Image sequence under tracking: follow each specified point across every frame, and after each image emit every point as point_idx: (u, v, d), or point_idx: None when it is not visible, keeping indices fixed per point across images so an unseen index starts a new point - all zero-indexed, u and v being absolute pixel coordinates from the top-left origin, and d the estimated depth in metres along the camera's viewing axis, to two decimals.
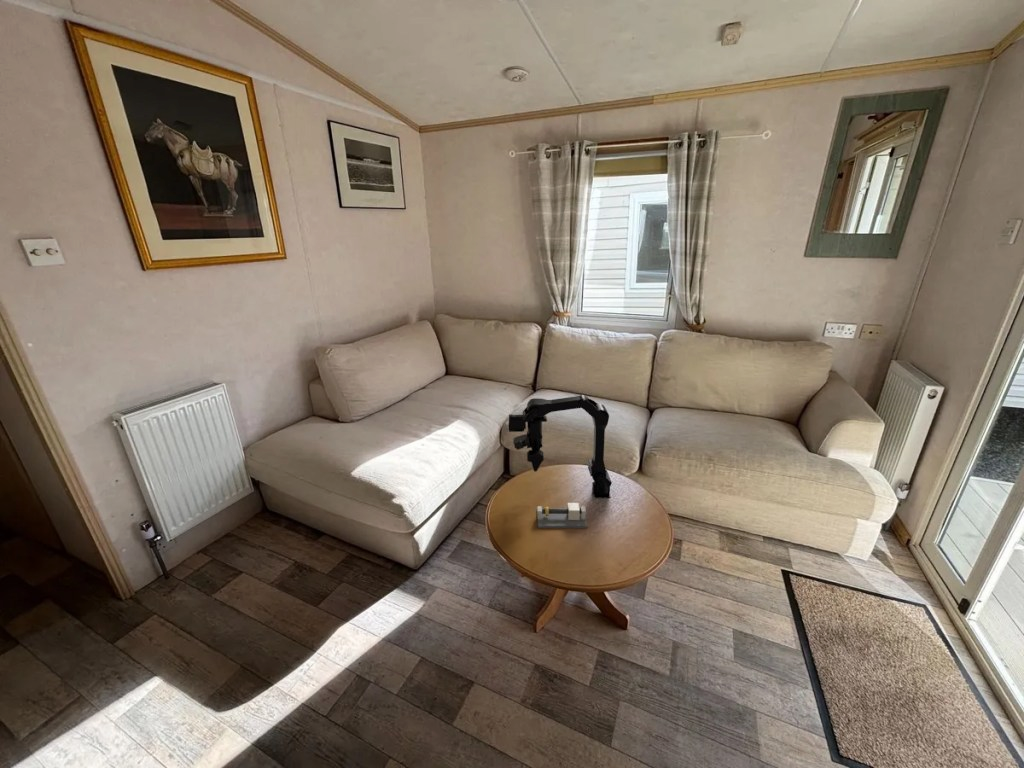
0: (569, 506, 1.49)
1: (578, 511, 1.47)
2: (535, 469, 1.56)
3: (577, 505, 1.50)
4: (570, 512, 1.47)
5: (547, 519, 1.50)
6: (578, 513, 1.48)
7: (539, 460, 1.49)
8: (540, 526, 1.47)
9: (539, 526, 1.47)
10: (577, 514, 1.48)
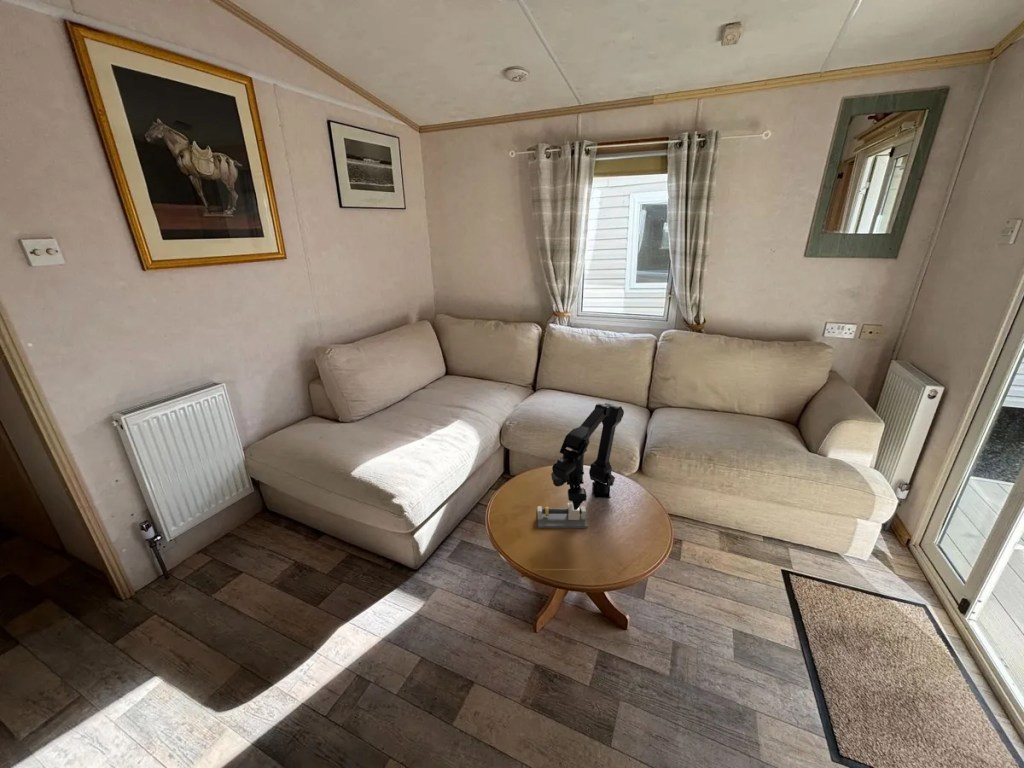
0: (569, 506, 1.49)
1: (578, 511, 1.47)
2: (575, 507, 1.43)
3: None
4: (570, 512, 1.47)
5: (547, 519, 1.50)
6: (578, 513, 1.48)
7: (582, 499, 1.37)
8: (540, 526, 1.47)
9: (539, 526, 1.47)
10: (577, 514, 1.48)
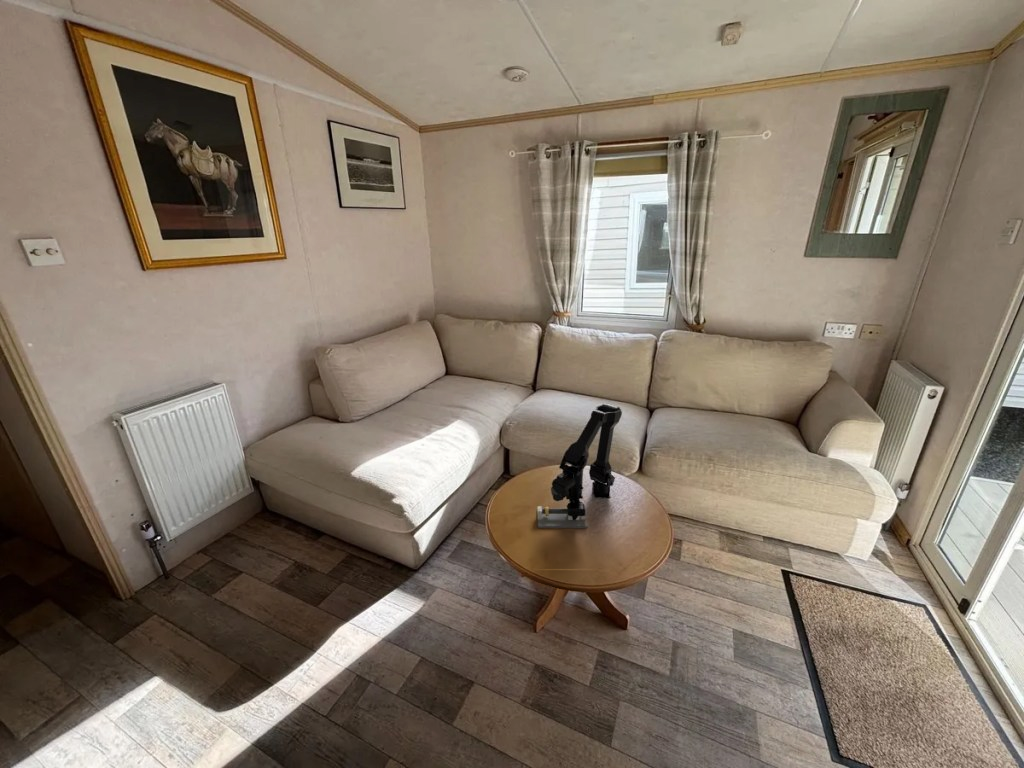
0: None
1: None
2: (574, 518, 1.47)
3: None
4: None
5: (547, 519, 1.50)
6: None
7: (581, 514, 1.39)
8: (540, 526, 1.47)
9: (539, 526, 1.47)
10: None
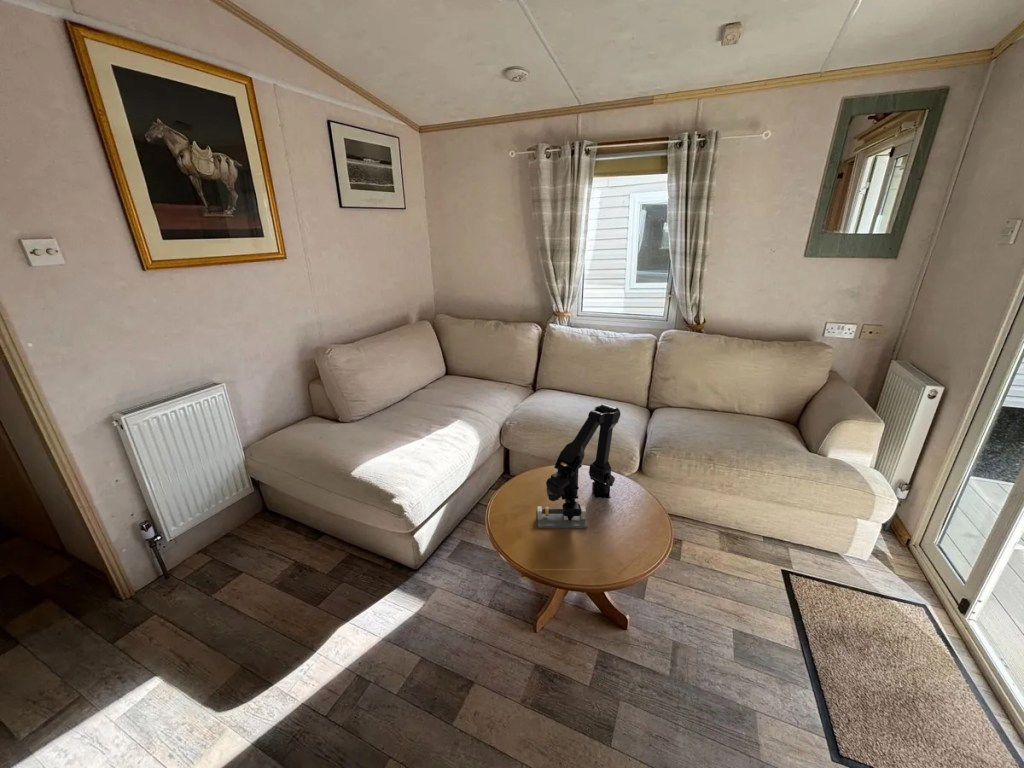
0: None
1: None
2: (570, 518, 1.48)
3: None
4: None
5: (547, 519, 1.50)
6: None
7: (576, 514, 1.39)
8: (540, 526, 1.47)
9: (539, 526, 1.47)
10: None
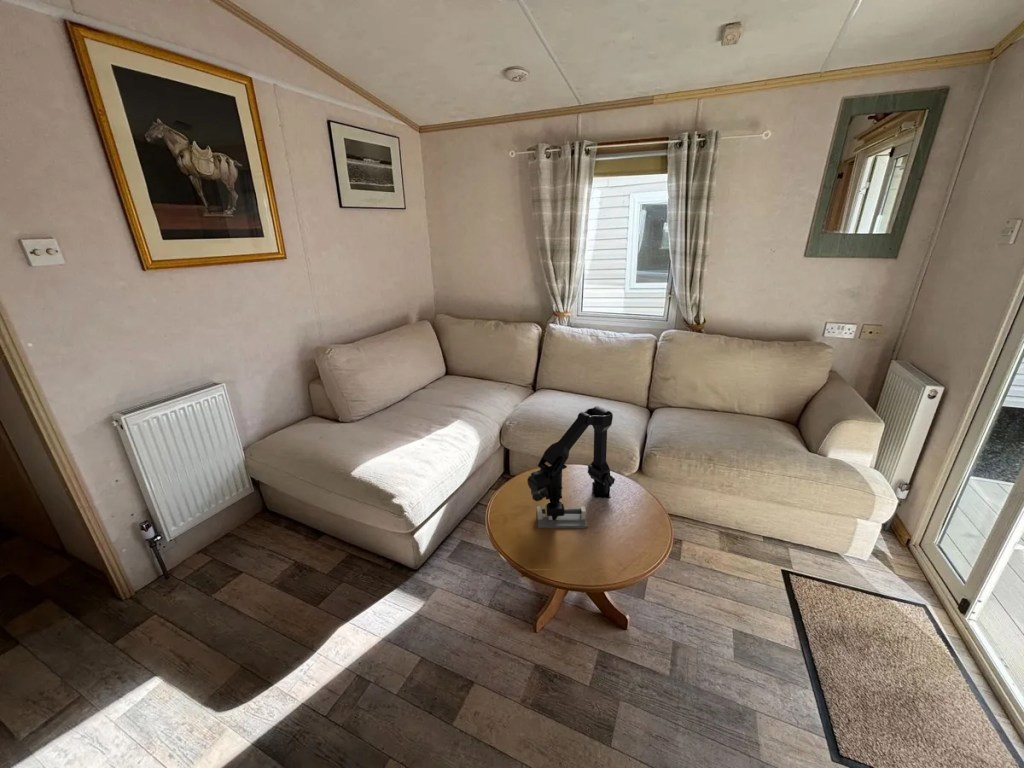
0: None
1: None
2: (554, 518, 1.48)
3: None
4: None
5: (547, 519, 1.50)
6: None
7: (560, 514, 1.39)
8: (540, 526, 1.47)
9: (539, 526, 1.47)
10: None
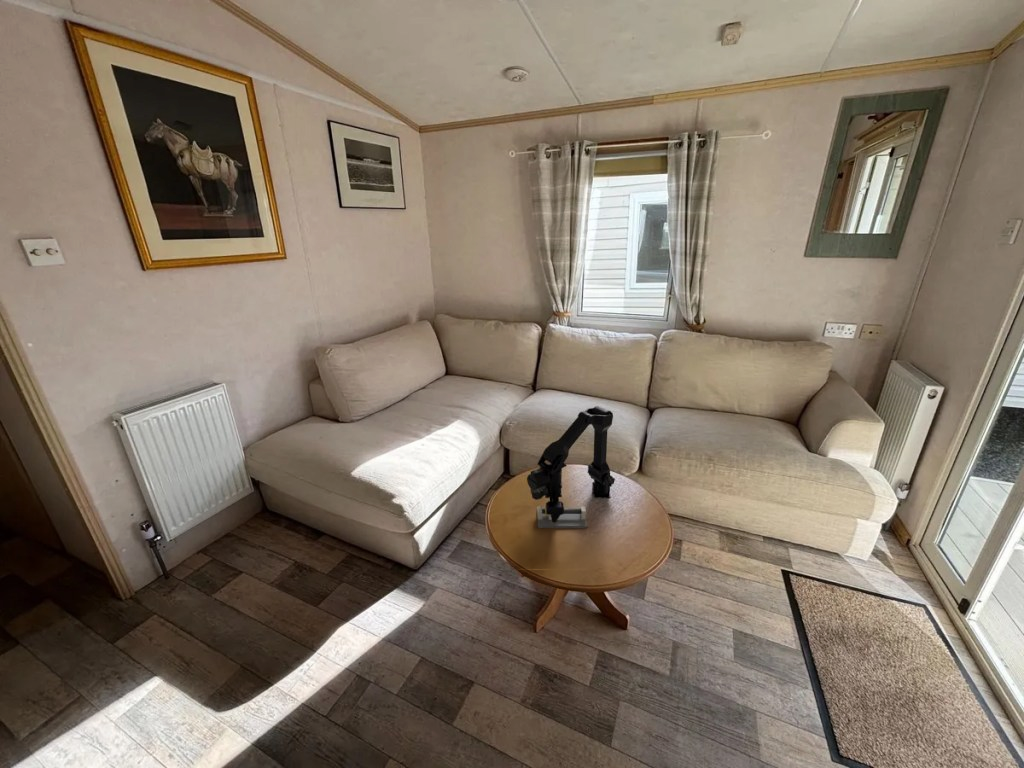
0: None
1: None
2: (554, 520, 1.45)
3: None
4: None
5: (547, 519, 1.50)
6: None
7: (559, 513, 1.39)
8: (540, 526, 1.47)
9: (539, 526, 1.47)
10: None
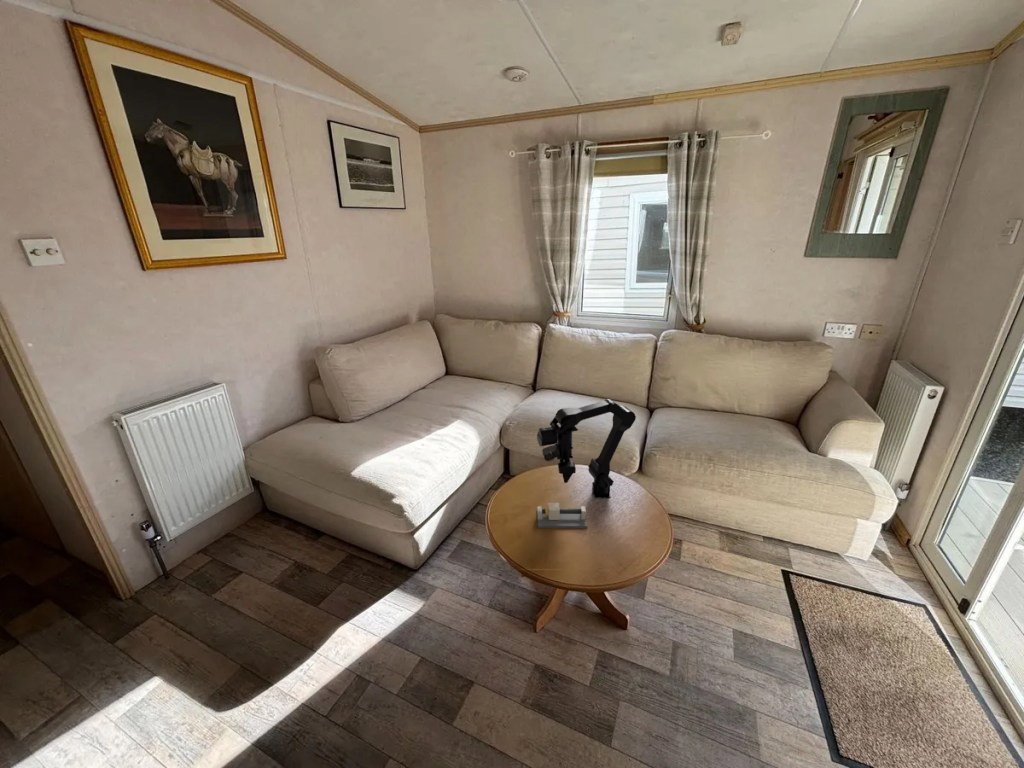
0: (549, 506, 1.50)
1: (558, 511, 1.48)
2: (566, 480, 1.52)
3: (557, 505, 1.50)
4: (550, 512, 1.48)
5: (547, 519, 1.50)
6: (558, 513, 1.48)
7: (571, 472, 1.46)
8: (540, 526, 1.47)
9: (539, 526, 1.47)
10: (557, 514, 1.48)
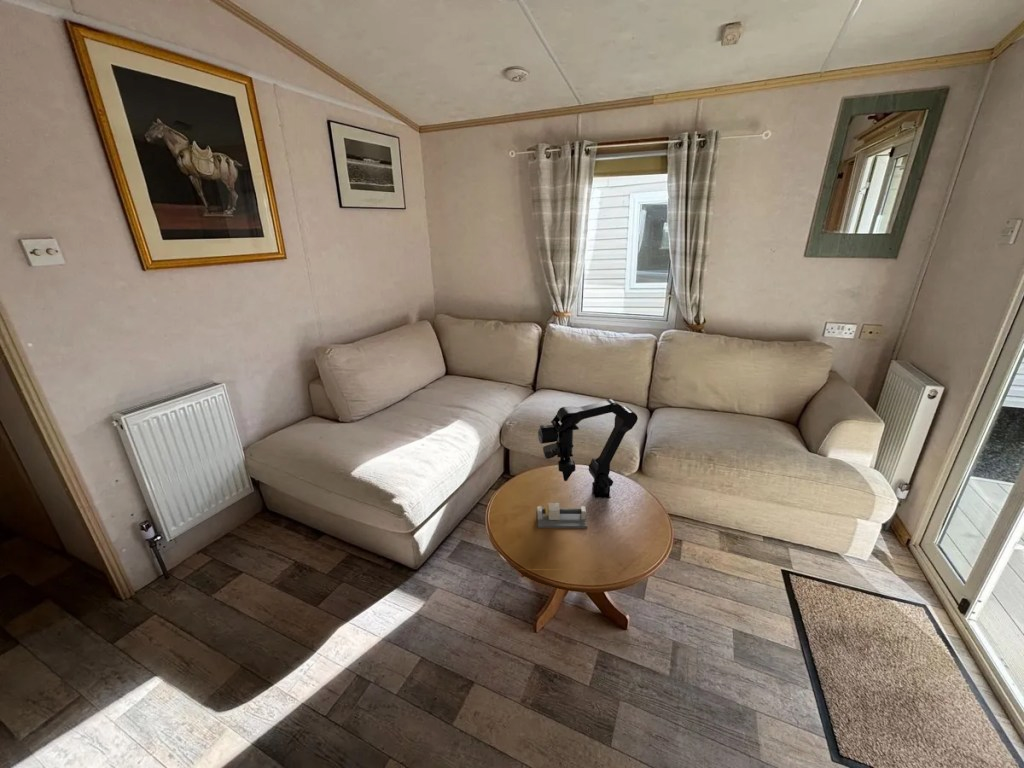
0: (549, 506, 1.50)
1: (558, 511, 1.48)
2: (565, 479, 1.53)
3: (557, 505, 1.50)
4: (550, 512, 1.48)
5: (547, 519, 1.50)
6: (558, 513, 1.48)
7: (571, 470, 1.47)
8: (540, 526, 1.47)
9: (539, 526, 1.47)
10: (557, 514, 1.48)
